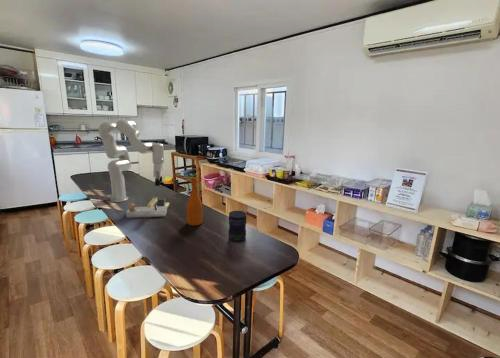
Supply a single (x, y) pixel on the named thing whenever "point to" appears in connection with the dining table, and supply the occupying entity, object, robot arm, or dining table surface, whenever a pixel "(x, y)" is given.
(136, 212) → the plane body
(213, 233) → the dining table surface
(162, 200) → the dark grey block
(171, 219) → the dining table surface
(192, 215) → the wine bottle
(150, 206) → the latch lever
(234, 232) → the black camera lens
